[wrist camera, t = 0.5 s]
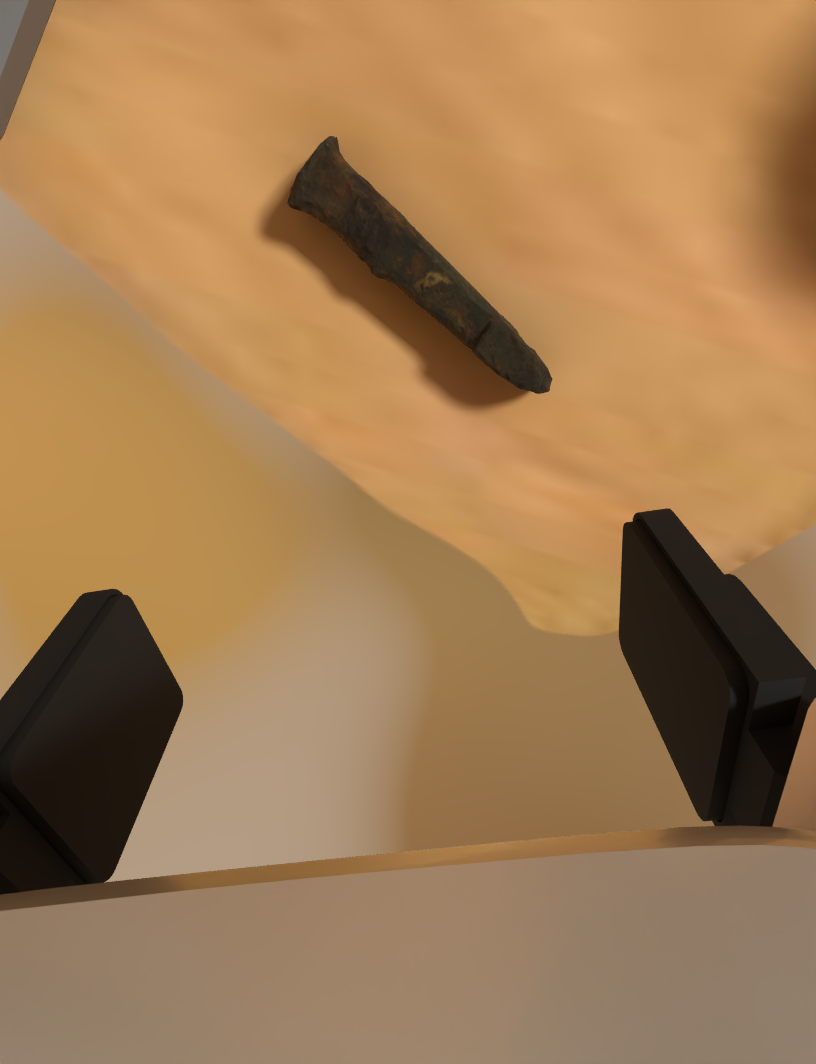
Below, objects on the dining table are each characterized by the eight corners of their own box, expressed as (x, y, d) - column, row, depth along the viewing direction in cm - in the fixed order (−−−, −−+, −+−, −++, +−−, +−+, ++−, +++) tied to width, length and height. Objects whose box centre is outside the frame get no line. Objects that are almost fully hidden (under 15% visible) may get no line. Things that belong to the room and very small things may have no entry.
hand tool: (289, 196, 33) (274, 198, 29) (332, 133, 31) (322, 127, 27) (510, 408, 40) (522, 434, 36) (555, 365, 38) (573, 387, 34)
